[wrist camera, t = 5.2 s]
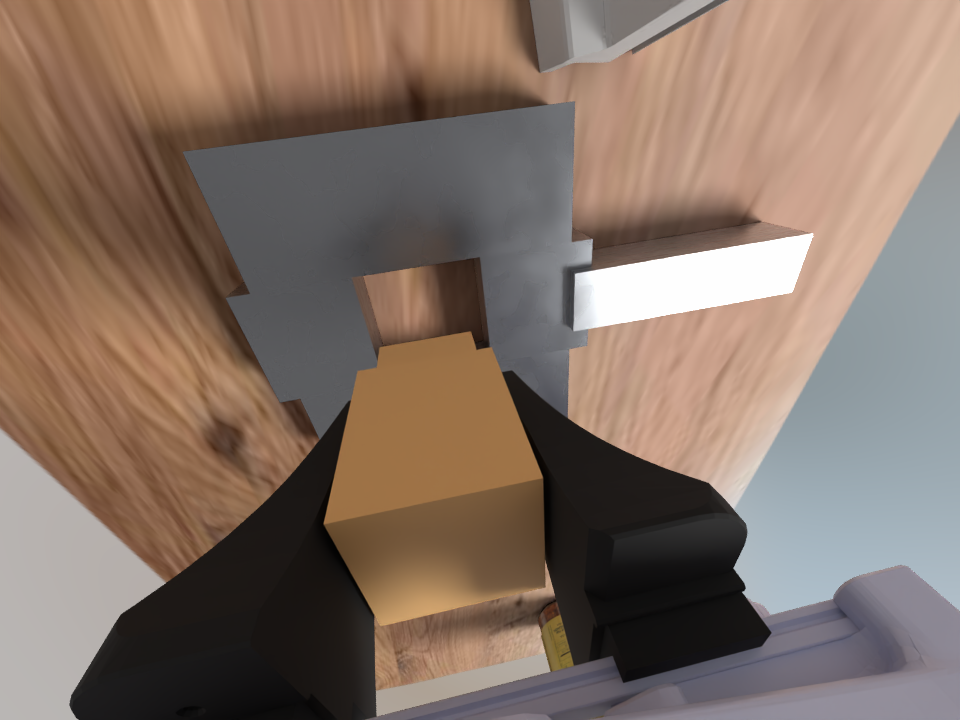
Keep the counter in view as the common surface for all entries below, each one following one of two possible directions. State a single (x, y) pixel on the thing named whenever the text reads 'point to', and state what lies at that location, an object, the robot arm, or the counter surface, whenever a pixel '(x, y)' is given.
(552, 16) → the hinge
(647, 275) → the grey mounting plate
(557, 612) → the sauce bottle
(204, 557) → the robot arm
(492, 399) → the wedge pin
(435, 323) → the counter surface
